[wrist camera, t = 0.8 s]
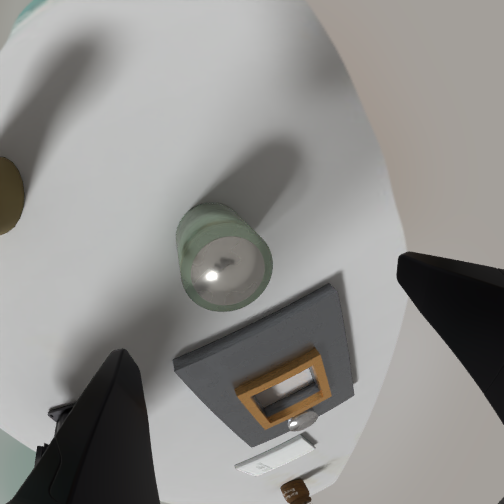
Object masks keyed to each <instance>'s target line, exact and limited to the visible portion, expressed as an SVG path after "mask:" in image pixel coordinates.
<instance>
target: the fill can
mask: <svg viewBox="0 0 504 504" xmlns="http://www.w3.org/2000/svg"><path fill="white" fill-rule="evenodd" d="M176 244H177V251H178V258H179V265H180V272H181V278H182V283H183V287H184V289H185V291H186V293H187V294H188V296H189V297H190V298H191V299H192V300H193V301H194V302H195V303H196V304H198V305H199V306H201V307H203V308H205V309H208V310H211V311H217V312H227V311H233V310H237V309H240V308H243V307H245V306H247V305H248V304H250V303H252V302H253V301H254V300H256V299H257V298H258V297H259V296H260V295H261V294H262V293H263V291H264V290H265V288H266V287H267V285H268V283H269V281H270V278H271V274H272V269H273V261H272V255H271V252H270V250H269V247H268V246H267V244H266V243H265V241H264V240H263V239H262V238H261V237H260V236H259V235H258V234H257V233H256V232H255V231H254V230H253V229H252V228H251V227H250V226H249V225H248V224H246V223H245V222H244V221H243V220H242V219H241V218H240V217H239V216H238V215H237V214H236V213H235V212H234V211H233V210H232V209H230V208H229V207H227V206H225V205H222V204H219V203H204V204H200V205H198V206H196V207H194V208H192V209H191V210H189V211H188V212H187V213H186V214H185V215H184V216H183V217H182V219H181V221H180V222H179V225H178V227H177V231H176Z"/></svg>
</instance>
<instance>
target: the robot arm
mask: <svg viewBox="0 0 504 504" xmlns="http://www.w3.org/2000/svg"><path fill="white" fill-rule="evenodd" d="M397 280H398V282H399V284H400V285H401V286H402V288H403V289H404V291H405V292H406V293H407V295H408V296H409V297H410V299H411V300H412V301H413V303H414V304H415V306H416V307H417V308H418V310H419V311H420V313H422V315H423V316H424V317H425V319H426V320H427V321H428V322H429V323H430V325H431V326H432V327H433V328H434V329H435V330H436V332H437V333H438V334H439V335H440V336H441V338H442V339H443V340H444V341H445V343H446V344H447V345H448V346H449V348H450V349H451V350H452V352H453V353H454V354H455V355H456V357H457V358H458V359H459V360H460V362H461V363H462V364H463V366H464V367H465V368H466V370H467V371H468V373H469V374H470V375H471V377H472V378H473V379H474V381H475V382H476V384H477V385H478V386H479V388H480V389H481V390H482V392H483V393H484V395H485V397H486V398H487V400H488V401H489V403H490V404H491V406H492V407H493V409H494V410H495V412H496V413H497V415H498V417H499V418H500V420H501V421H502V423H503V425H504V269H499V268H498V269H497V268H493V267H489V266H484V265H479V264H474V263H469V262H464V261H459V260H453V259H448V258H443V257H437V256H432V255H426V254H420V253H415V252H406V253H403V254H401V255H400V256H399V258H398V265H397ZM48 416H49V417H51V418H52V419H53V420H54V421H56V422H57V423H56V429H55V435H54V438H53V439H52V441H51V443H50V444H49V445H48V444H46V443H44V447H43V446H37V451H36V459H35V467H34V469H33V470H32V472H31V473H30V475H29V476H28V477H27V479H26V480H25V482H24V483H23V485H22V486H21V487H20V489H19V490H18V492H17V493H16V495H15V496H14V497H13V499H12V500H10V501H9V502H8V503H6V504H160V500H159V495H158V490H157V484H156V478H155V472H154V465H153V458H152V450H151V442H150V433H149V423H148V415H147V409H146V404H145V399H144V393H143V387H142V381H141V374H140V370H139V368H138V366H137V365H136V363H135V362H134V360H133V359H132V357H131V356H130V354H129V353H128V351H127V350H126V349H123V348H122V349H118V350H114V351H112V352H111V353H110V355H109V356H108V357H107V359H106V360H105V362H104V363H103V364H102V366H101V367H100V369H99V370H98V372H97V373H96V374H95V376H94V377H93V379H92V380H91V382H90V383H89V384H88V386H87V387H86V389H85V390H84V392H83V393H82V395H81V396H80V398H79V399H78V401H77V402H76V403H75V404H72V405H69V406H65V407H62V408H58V409H55V410H51V411H49V412H48ZM498 504H504V498H503V499H502V500H501V501H500V502H499V503H498Z"/></svg>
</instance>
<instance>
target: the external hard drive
mask: <svg viewBox="0 0 504 504" xmlns="http://www.w3.org/2000/svg"><path fill="white" fill-rule="evenodd" d="M314 449H315V446H314V445H313V444H312V443H310V442H309V441H308V440H307V439H305V438H304V437H303V436H302V435H301V434H300V435H298V436H296V437H294V438H292V439H290V440H288V441H287V442H285V443H283V444H281V445H279V446H277V447H275V448H273V449H270V450H268V451H266V452H264V453H262V454H260V455H258V456H255V457H253V458H251V459H248V460H246V461H244V462H241V463H239V464H236V465H234V466H235V469H236V470H238V471H241V472H244V473H247V474H250V475H253V476H259V475H261V474H264V473H266V472H268V471H271V470H273V469H275V468H278V467H280V466H282V465H284V464H286V463H288V462H290V461H293V460H295V459H297V458H299V457H301V456H303V455H304V454H306V453H308V452H310V451H312V450H314Z"/></svg>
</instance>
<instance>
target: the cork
mask: <svg viewBox="0 0 504 504" xmlns="http://www.w3.org/2000/svg"><path fill="white" fill-rule="evenodd" d="M23 206H24V188H23V181H22V179H21V176H20V173H19V171H18V169H17V168H16V167H15V165H14V164H13V162H11V161H10V160H8V159H6V158H5V157H0V235H2V234H5V233H7V232H9V231H10V230H11V229H12V228H14V227H15V225H16V224H17V222H18V221H19V219H20V216H21V213H22V210H23Z"/></svg>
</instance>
